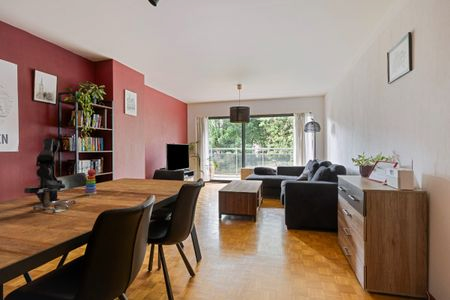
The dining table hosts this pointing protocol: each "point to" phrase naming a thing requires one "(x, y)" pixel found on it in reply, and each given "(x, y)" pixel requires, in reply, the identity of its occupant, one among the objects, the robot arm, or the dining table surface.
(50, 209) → the rails leg
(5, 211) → the dining table surface
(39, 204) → the rail leg
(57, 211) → the sage coaster
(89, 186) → the stacking toy
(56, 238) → the dining table surface
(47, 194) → the walnut peg
